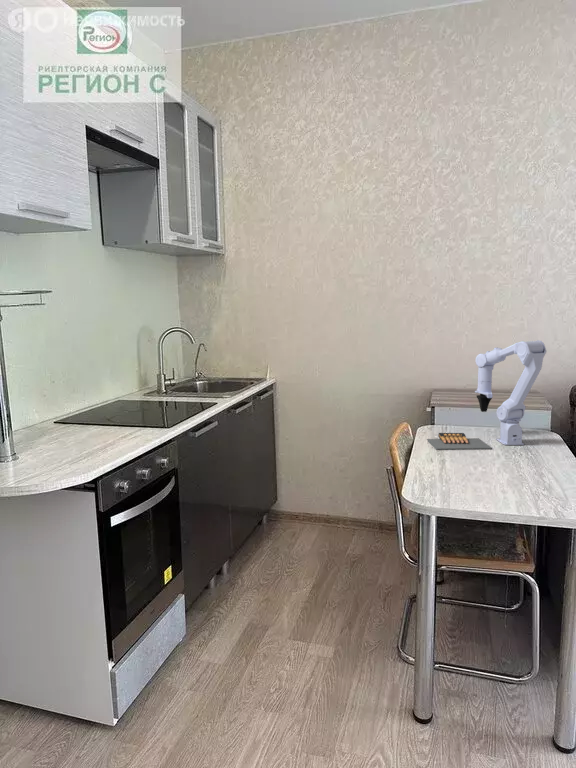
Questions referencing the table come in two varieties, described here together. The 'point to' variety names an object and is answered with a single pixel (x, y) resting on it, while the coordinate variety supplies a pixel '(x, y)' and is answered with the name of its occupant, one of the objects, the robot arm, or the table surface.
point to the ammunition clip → (453, 437)
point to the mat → (459, 444)
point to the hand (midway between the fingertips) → (483, 411)
